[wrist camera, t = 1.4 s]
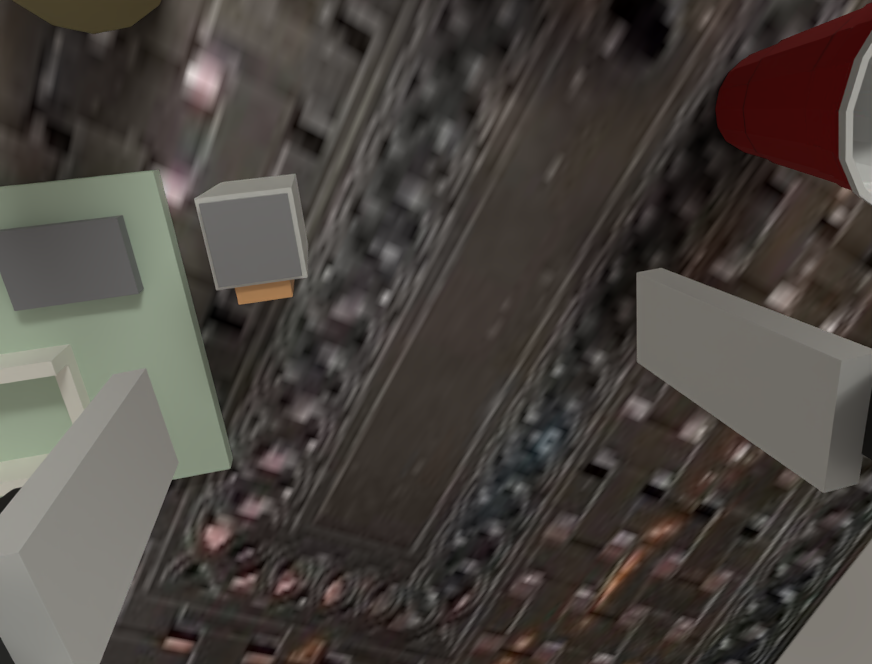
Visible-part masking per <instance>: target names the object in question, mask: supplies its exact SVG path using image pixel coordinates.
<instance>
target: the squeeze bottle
mask: <svg viewBox="0 0 872 664" xmlns="http://www.w3.org/2000/svg"><path fill="white" fill-rule="evenodd" d="M12 1H14V2H15V3H17V4H19V5H20V6H22V7H24V8H25V9H27V10H28V11H30V12H32V13H33V14H35V15H37V16H38V17H40V18H42V19H43V20H45V21H47V22H48V23H50V24H51V25H54V26H59V27H63V28H68V29H73V30H77V31H82V32H87V33H92V34H96V33H101V32H106V31H112V30H117V29H122V28H127V27H131V26H132V25H134V24H135V23H136V22H138V21H139V20H140V19H142V18H143V17H144V16H145V15H147V14H148V13H149V12H151V11H152V10H153V9H155V8H156V7H157V6H159V4H160V2H161V0H12Z"/></svg>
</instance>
